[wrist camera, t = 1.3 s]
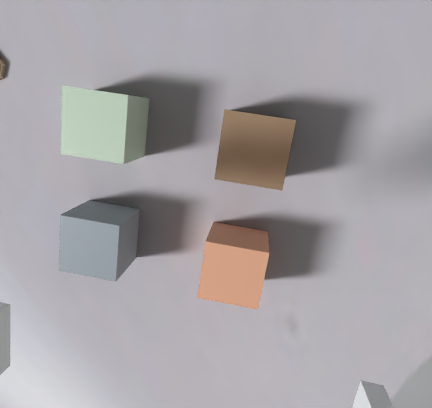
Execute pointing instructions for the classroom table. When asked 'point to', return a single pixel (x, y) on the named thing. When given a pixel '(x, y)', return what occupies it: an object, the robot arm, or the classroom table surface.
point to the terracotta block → (234, 265)
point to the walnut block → (254, 149)
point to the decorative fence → (2, 68)
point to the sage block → (103, 125)
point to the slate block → (98, 239)
